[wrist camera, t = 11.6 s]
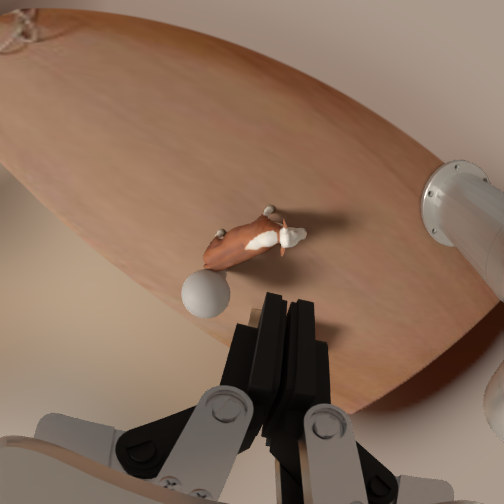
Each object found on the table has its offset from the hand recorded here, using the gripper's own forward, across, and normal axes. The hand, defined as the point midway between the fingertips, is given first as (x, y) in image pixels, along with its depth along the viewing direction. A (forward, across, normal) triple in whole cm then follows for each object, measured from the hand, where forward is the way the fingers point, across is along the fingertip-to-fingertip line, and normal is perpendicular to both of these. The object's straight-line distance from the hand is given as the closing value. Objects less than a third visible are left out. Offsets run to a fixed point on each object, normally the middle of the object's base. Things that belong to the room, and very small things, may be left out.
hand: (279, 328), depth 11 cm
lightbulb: (+29, +7, +16) cm, 34 cm away
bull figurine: (+29, +3, +9) cm, 31 cm away
